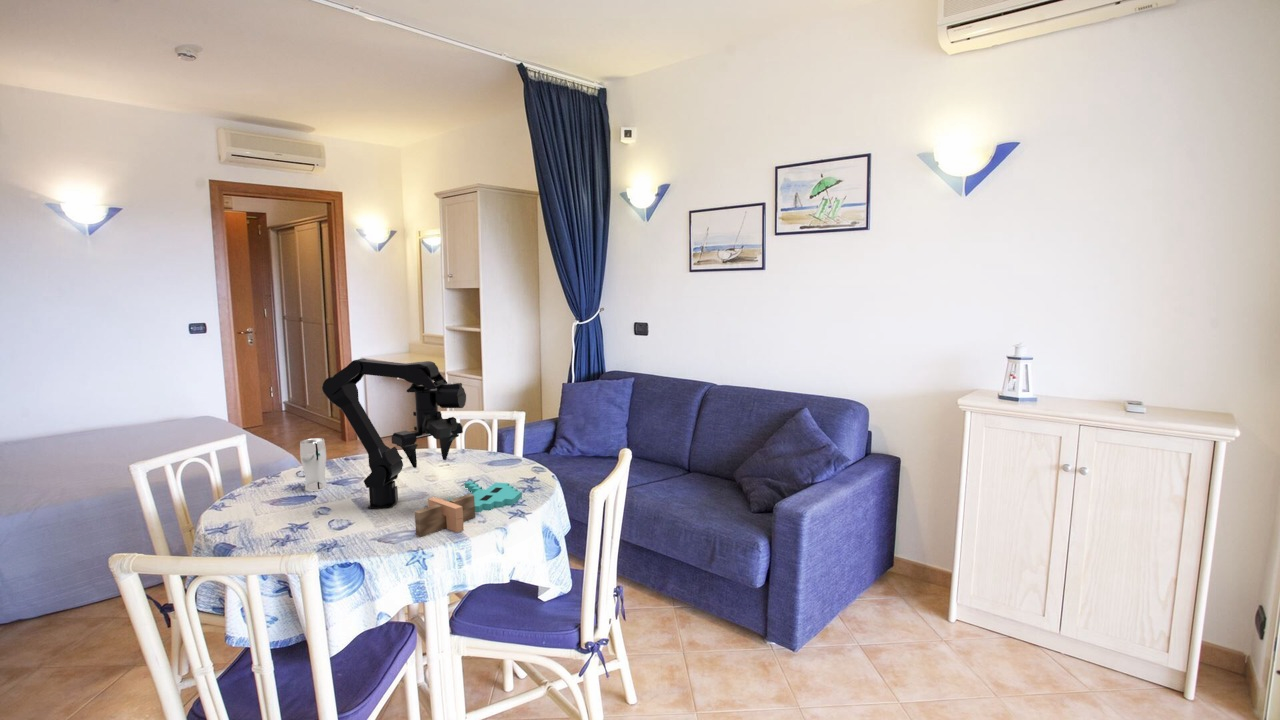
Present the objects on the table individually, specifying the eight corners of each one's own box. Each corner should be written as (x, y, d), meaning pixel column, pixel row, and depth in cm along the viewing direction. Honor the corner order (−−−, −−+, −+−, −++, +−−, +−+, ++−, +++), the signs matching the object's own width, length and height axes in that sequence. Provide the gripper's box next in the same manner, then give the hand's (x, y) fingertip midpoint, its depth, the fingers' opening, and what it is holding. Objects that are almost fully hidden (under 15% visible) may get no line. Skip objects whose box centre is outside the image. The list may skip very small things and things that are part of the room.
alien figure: (434, 511, 171) (502, 515, 167) (433, 503, 170) (502, 507, 166) (468, 488, 190) (530, 491, 186) (468, 481, 190) (530, 484, 186)
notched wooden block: (420, 537, 152) (419, 513, 151) (416, 535, 153) (414, 511, 153) (475, 517, 164) (474, 495, 164) (470, 515, 166) (469, 493, 165)
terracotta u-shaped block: (463, 530, 156) (462, 506, 155) (456, 532, 154) (455, 508, 154) (436, 519, 163) (434, 496, 163) (429, 521, 162) (427, 498, 161)
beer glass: (297, 491, 188) (293, 442, 186) (314, 484, 195) (311, 437, 193) (317, 493, 186) (313, 443, 185) (334, 485, 193) (330, 438, 191)
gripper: (411, 417, 158) (415, 477, 160) (473, 405, 173) (476, 460, 175) (388, 412, 165) (392, 469, 167) (449, 401, 180) (452, 454, 182)
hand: (430, 463), depth 172 cm, fingers open, 9 cm apart
